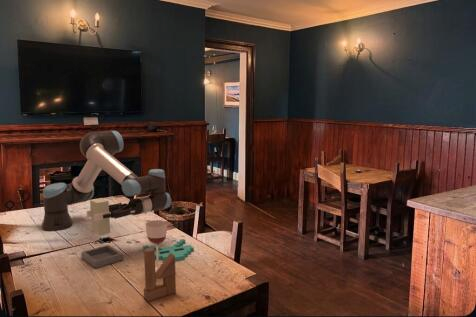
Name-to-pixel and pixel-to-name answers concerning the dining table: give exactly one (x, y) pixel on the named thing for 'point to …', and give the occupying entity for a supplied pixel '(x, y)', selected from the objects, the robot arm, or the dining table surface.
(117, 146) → the robot arm
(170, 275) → the wooden braced frame
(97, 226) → the tan rectangular block
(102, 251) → the grey tray
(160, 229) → the wineglass
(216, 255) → the dining table surface
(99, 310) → the dining table surface
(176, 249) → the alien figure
